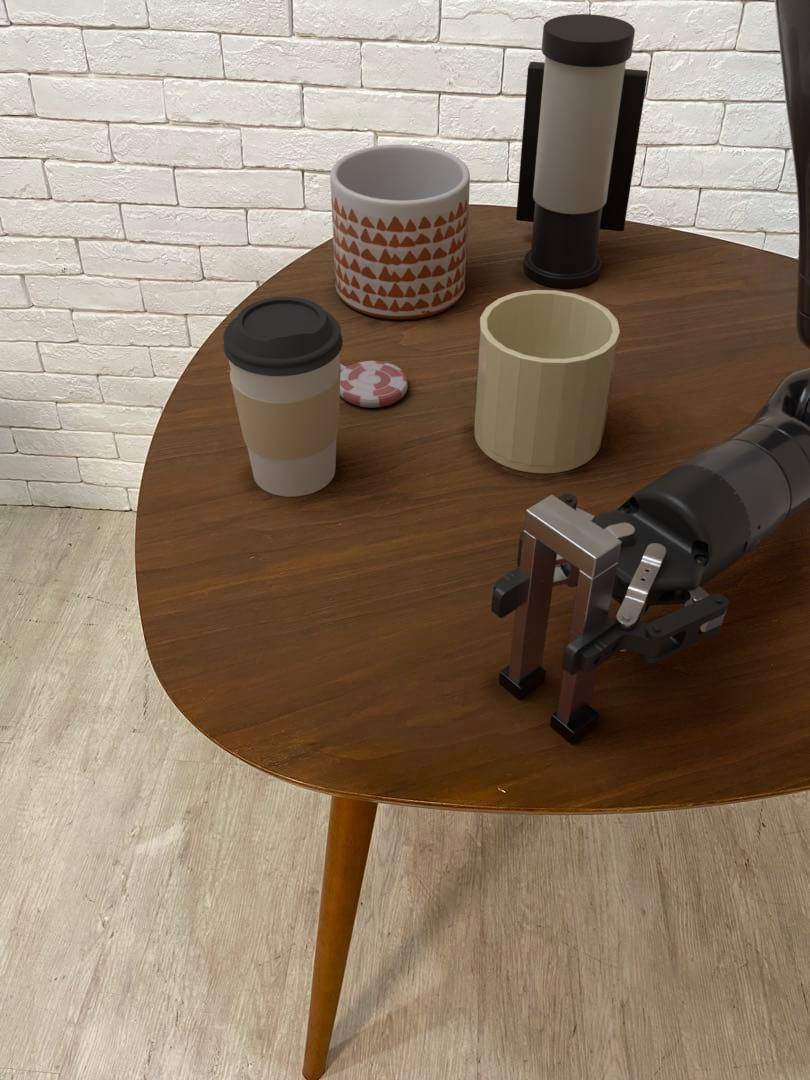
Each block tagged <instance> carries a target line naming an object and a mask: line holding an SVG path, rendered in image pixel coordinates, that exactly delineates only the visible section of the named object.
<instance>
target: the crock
mask: <svg viewBox="0 0 810 1080" xmlns="http://www.w3.org/2000/svg"><path fill="white" fill-rule="evenodd" d="M620 335H621V330H620V325H619V321H618V319H617V317H616V316H615V315H614V314H613V313H612V312H611V311H610V309H608V308H607V307H605V306H604V305H602V304H601V303H599V302H597V301H596V300H593V299H591V298H588V297H585V296H583V295H580V294H578V293H574V292H567V291H562V290H555V289H531V290H524V291H518V292H513V293H510V294H507V295H505V296H502V297H499V298H497V299H496V300H495V301H492V303H490V304H488V305H487V306H486V307H485V309H484V311H483V312H482V314H481V315H480V317H479V329H478V343H477V344H478V347H477V362H476V363H477V364H476V380H475V396H474V397H475V398H474V415H473V422H474V423H473V436H474V439H475V442H476V444H477V446H478V447H479V448H480V451H482V452H483V454H485V455H486V456H487V457H489V458H490V459H491V460H493V461H494V462H496V463H498V464H499V465H502V466H503V467H505V468H509V469H512V470H515V471H519V472H525V473H530V474H557V473H563V472H567V471H571V470H574V469H577V468H580V467H581V466H583V465H585V464H587V463H588V462H589V461H591V460H592V459H593V458H594V457H595V456H596V455H597V453H598V452H599V451H600V448H601V445H602V440H603V436H604V434H605V433H604V432H605V427H606V421H607V414H608V408H609V404H610V396H611V391H612V390H611V389H612V385H613V379H614V378H613V377H614V371H615V366H616V360H617V353H618V347H619V340H620Z"/></svg>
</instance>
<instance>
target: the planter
mask: <svg viewBox="0 0 810 1080" xmlns="http://www.w3.org/2000/svg"><path fill="white" fill-rule="evenodd" d="M329 174H330V175H329V182H330V199H331V200H330V201H331V220H332V222H331V223H332V242H333V261H334V262H333V263H334V265H333V266H334V283H335V290H336V293H337V295H338V297H339V298H340V300H341V301H342V302H343V303H344V304H345V305H347V306H348V307H350V308H351V309H352V310H355V311H357V312H358V313H361V314H364V315H367V316H371V317H374V318H379V319H385V320H397V321H398V320H399V321H400V320H415V319H422V318H426V317H431V316H434V315H437V314H440V313H442V312H444V311H446V310H448V309H450V308H452V306H454V305H455V304H456V303H458V302H459V300H460V299H461V298H462V296H463V294H464V292H465V288H466V274H467V255H468V254H467V252H468V233H469V229H468V228H469V208H470V207H469V206H470V189H471V188H470V187H471V186H470V185H471V173H470V170H469V167H468V166H467V165H466V163H464V162H463V160H462V159H460V158H459V157H457V156H455V155H454V154H452V153H450V152H448V151H445V150H441V149H439V148H436V147H431V146H426V145H417V144H401V143H400V144H398V143H397V144H383V145H376V146H375V145H374V146H370V147H365V148H362V149H359V150H355V151H353V152H351V153H348V154H346V155H344V156H343V157H341V158H340V159H339V160H337V161H336V162H335V164H333V166H332V167H331V170H330V173H329Z"/></svg>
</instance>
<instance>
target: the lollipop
mask: <svg viewBox="0 0 810 1080" xmlns="http://www.w3.org/2000/svg"><path fill="white" fill-rule="evenodd" d="M339 364H340V367H341V376H340V397H341V399H344V400H345V402H347V403H349V404H351V405H352V406H353V405H354V406H357V407H361V408H370V409H371V408H383V407H385V406H386V407H387V406H390V405H393V404H394V403H397V402H398V401H400V400H401V399H402V398H403V397H404V396H405V395H406V393H407V390H408V388H409V380H408V376H407V375H406V373H405V371H403V369H401V368H400V367H398V366H397V365H396V364H393V363H390V362H386V361H382V360H366V361H364V360H363V361H359V362H356V363H353V364H351V365H348V366H346V365H343V364H342V363H340V362H339Z"/></svg>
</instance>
